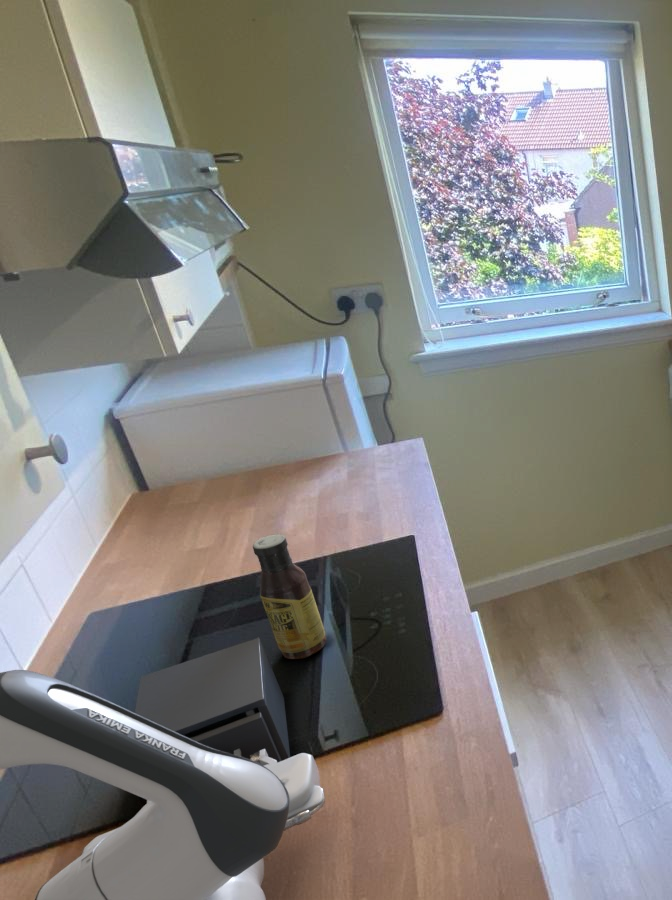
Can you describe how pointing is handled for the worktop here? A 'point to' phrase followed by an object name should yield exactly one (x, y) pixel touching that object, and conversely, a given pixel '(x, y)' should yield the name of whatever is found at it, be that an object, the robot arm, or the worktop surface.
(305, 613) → the sauce bottle
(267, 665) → the cabinet
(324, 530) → the worktop surface
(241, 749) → the drawer
